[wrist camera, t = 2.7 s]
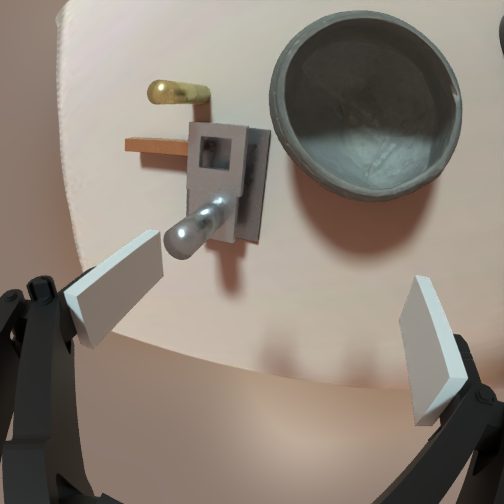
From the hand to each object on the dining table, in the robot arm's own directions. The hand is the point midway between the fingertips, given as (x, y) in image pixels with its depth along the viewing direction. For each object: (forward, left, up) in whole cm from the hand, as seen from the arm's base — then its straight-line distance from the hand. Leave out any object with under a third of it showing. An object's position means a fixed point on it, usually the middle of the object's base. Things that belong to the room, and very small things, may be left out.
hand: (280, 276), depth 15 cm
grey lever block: (+4, -19, -30) cm, 36 cm away
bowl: (-10, +4, -31) cm, 32 cm away
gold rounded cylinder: (-9, -19, -30) cm, 37 cm away
